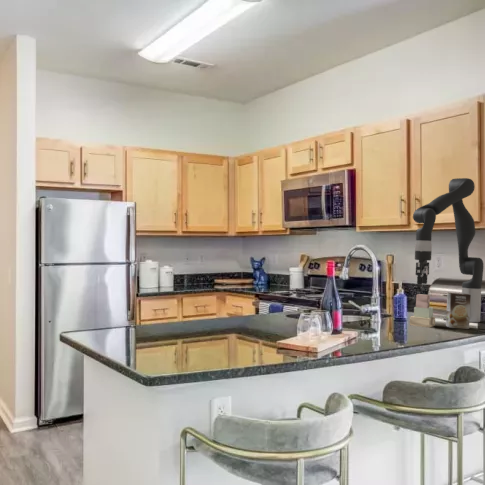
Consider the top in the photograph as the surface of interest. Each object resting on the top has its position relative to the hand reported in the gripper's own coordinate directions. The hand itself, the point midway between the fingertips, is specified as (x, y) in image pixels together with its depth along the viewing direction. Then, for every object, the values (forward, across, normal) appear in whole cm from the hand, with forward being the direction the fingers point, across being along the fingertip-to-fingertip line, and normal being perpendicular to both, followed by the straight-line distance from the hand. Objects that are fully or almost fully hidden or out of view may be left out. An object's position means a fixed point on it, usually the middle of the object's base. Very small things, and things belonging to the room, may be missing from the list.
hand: (422, 284), depth 257 cm
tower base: (+20, 0, +1) cm, 20 cm away
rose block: (+11, 0, +1) cm, 11 cm away
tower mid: (+16, -1, +1) cm, 16 cm away
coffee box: (+20, -7, +15) cm, 26 cm away
